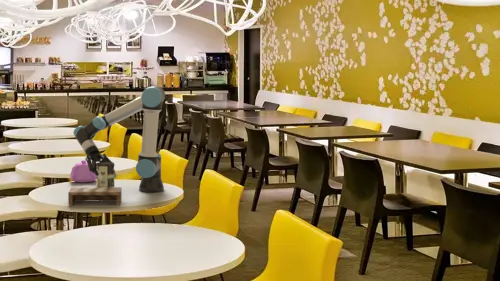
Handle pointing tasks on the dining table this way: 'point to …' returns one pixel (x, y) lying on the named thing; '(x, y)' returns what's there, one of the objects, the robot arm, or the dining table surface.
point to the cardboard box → (95, 194)
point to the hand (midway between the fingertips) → (108, 178)
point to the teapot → (82, 173)
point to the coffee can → (106, 174)
